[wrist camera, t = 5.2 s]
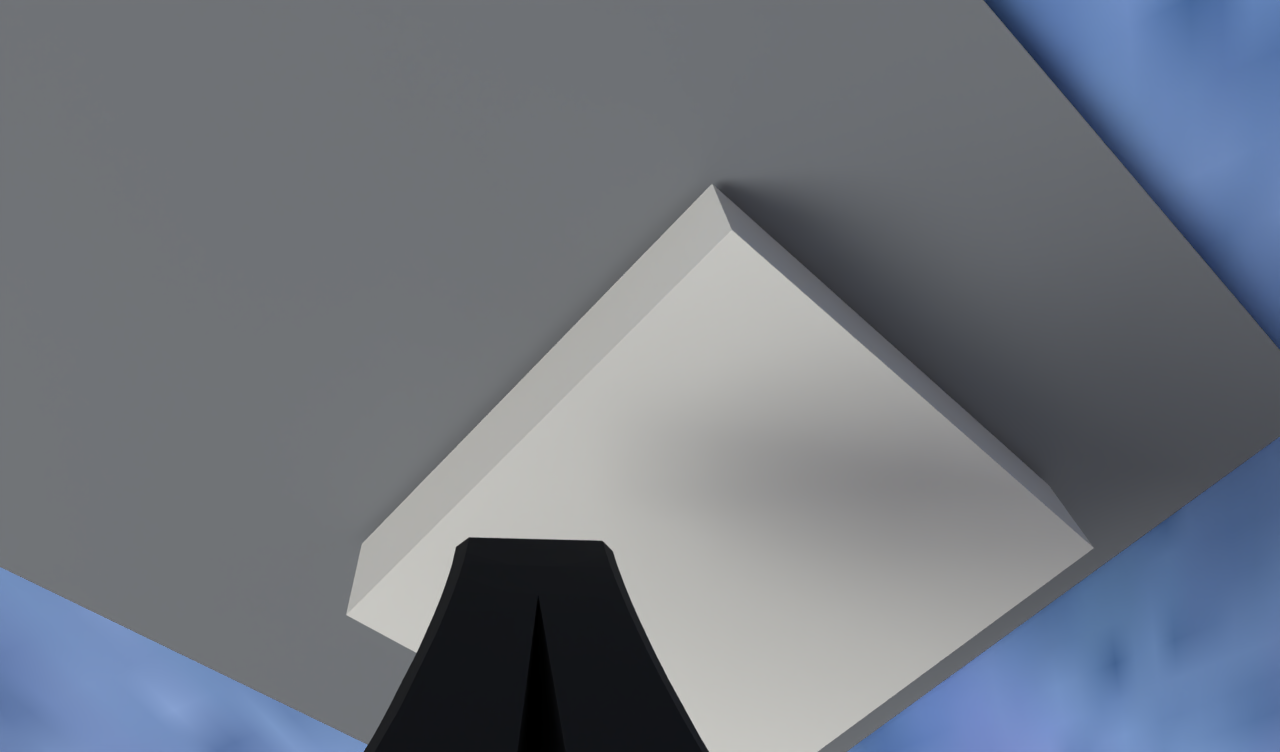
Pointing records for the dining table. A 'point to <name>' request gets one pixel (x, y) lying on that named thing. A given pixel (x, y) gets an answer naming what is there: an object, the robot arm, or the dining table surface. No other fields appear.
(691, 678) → the tile
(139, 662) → the dining table surface
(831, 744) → the mat
